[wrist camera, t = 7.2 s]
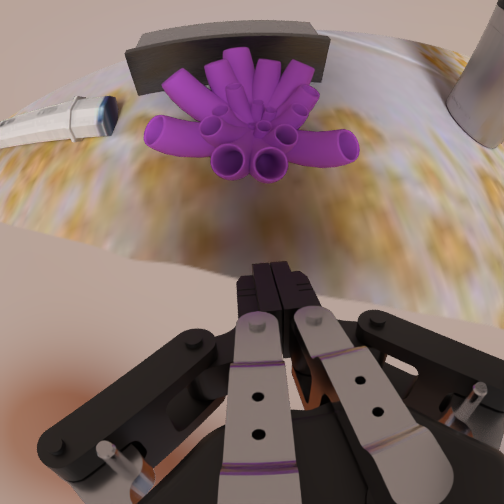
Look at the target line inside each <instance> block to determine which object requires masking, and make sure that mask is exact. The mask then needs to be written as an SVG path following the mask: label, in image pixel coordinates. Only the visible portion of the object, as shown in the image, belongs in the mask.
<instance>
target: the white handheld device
mask: <svg viewBox="0 0 504 504" xmlns="http://www.w3.org/2000/svg"><path fill="white" fill-rule="evenodd" d="M117 120H118V106H117V101H116V97H112V96H105V97H95V98H87V99H86V97H80V96H76V97H74V99H73V101H69V102H65V103H60V104H56V105H52V106H48V107H45V108H41V109H37V110H34V111H30V112H27V113H24V114H21V115H18V116H15V117H12V118H9V119H6V120H3V121H0V148H6V147H11V146H17V145H23V144H30V143H37V142H45V141H54V140H63V139H71V141H72V142H78V141H83V138H85V137H98V136H111V135H112V133H113V130H114V128H115V125H116V123H117Z"/></svg>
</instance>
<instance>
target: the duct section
mask: <svg viewBox="0 0 504 504" xmlns="http://www.w3.org/2000/svg"><path fill="white" fill-rule="evenodd" d="M329 44H330V38H329V37H328V36H322V35H318V34H317V32H316V31H315V29H314V28H313V27H312V25H311V24H310V23H309V22H298V21H276V20H255V21H254V20H251V21H250V20H249V21H227V22H214V23H205V24H196V25H188V26H181V27H175V28H169V29H164V30H159V31H154V32H149V33H145V34H143V35H142V36H141V38H140V40H139V42H138V44H137V46H136V48H134V49H129V50H126V52H125V57H126V60H127V63H128V66H129V69H130V72H131V75H132V78H133V81H134V84H135V87H136V90H137V93H138V96H139V95H144V94H149V93H154V92H160V91H164V89H163V88H162V84H163V83H164V82H165V81H166V80H167V79H168V78H169V77H170V76H172V75H173V74H174V73H176V72H177V71H178V70H180V69H181V68H184V69H185V70H187V71H188V72H189V73H190V74H191V75H192V76H194V77H195V78H196V79H197V80H198V81H199V82H201V83H202V84H203V85H209V83H208V80H207V77H206V74H205V69H204V66H205V65H207V64H209V63H212V62H215V61H218V60H222V59H223V51H224V50H226V49H230V48H236V47H248V48H249V50H250V53H251V57H252V60H253V64H254V69H255V70H256V65H257V62H258V60H259V59H269V60H275V61H280V62H281V76H282V74H283V72H284V71H285V69H286V67H287V66H288V64H289V63H290V61H291V60H292V59H294V60H296V61H299V62H301V63H303V64H306V65H308V66H310V67H312V68H314V70H315V71H314V74H313V77H312V79H311V82H321V80H322V76H323V71H324V67H325V63H326V58H327V53H328V49H329ZM281 76H280V77H281Z"/></svg>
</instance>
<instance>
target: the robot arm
mask: <svg viewBox="0 0 504 504" xmlns="http://www.w3.org/2000/svg"><path fill="white" fill-rule="evenodd" d="M446 103H447V107H448V109H449V111H450V113H451V115H452V116H453V117H454V119H455V120H456V121H457V123H458V124H459V125H460V126H461V127H462V128H463V129H464V130H465V131H466V132H467V133H468V134H469V135H470V136H471V137H472V138H473V139H475V140H476V141H477V142H479V143H480V144H482V145H484V146H486V147H488V148H492V149H493V148H496V147H497V146H498V145H499V144H500V143H501V144H502V143H503V142H504V0H498V2H497V5H496V7H495V10H494V12H493V14H492V16H491V19H490V21H489V23H488V25H487V27H486V29H485V31H484V33H483V35H482V37H481V39H480V41H479V43H478V45H477V47H476V49H475V51H474V53H473V54H472V56H471V58H470V60H469V62H468V64H467V66H466V67H465V69H464V71H463V73H462V74H461V76H460V78H459V80H458V81H457V83H456V85H455V86H454V88H453V90H452V92H451V93H450V95H449V97H448V98H447V101H446ZM236 285H237V302H238V321H237V323H236V326H235V328H234V329H232V330H231V331H229V332H227V333H225V334H223V335H219V336H216V337H214V335H213V334H212V333H211V332H209V331H207V330H204V329H190V330H186V331H184V332H182V333H180V334H179V335H177V336H176V337H175V338H173V339H172V340H171V341H169V342H168V343H167V344H165V345H164V346H163V347H162V348H160V349H159V350H157V351H156V352H155V353H153V354H152V355H151V356H149V357H148V358H147V359H145V360H144V361H143V362H141V363H140V364H139V365H137V366H136V367H134V368H133V369H132V370H131V371H129V372H128V373H126V374H125V375H124V376H122V377H121V378H119V379H118V380H117V381H116V382H114V383H113V384H111V385H110V386H109V387H107V388H106V389H104V390H103V391H102V392H100V393H99V394H97V395H96V396H95V397H93V398H92V399H90V400H89V401H88V402H86V403H85V404H84V405H82V406H81V407H79V408H78V409H76V410H75V411H74V412H72V413H71V414H69V415H68V416H66V417H65V418H64V419H62V420H61V421H59V422H58V423H57V424H55V425H54V426H52V427H51V428H49V429H48V430H46V431H45V432H44V433H43V434H42V435H41V437H40V438H39V441H38V444H37V453H38V456H39V458H40V460H41V461H42V462H43V463H44V464H45V465H46V466H47V467H49V468H50V469H51V470H52V471H54V472H55V473H56V474H57V475H58V476H59V477H60V478H61V479H63V480H64V481H65V482H67V483H68V484H69V485H71V487H72V488H73V489H74V491H75V492H76V493H77V494H78V496H79V497H80V498H81V500H82V501H83V502H84V503H85V504H504V454H503V453H502V452H501V451H499V448H500V445H501V441H502V438H503V434H504V360H502V359H499V358H497V357H494V356H491V355H489V354H487V353H484V352H482V351H479V350H476V349H474V348H472V347H469V346H467V345H465V344H462V343H460V342H457V341H455V340H452V339H450V338H447V337H445V336H442V335H440V334H438V333H435V332H433V331H430V330H428V329H425V328H423V327H421V326H418V325H416V324H413V323H411V322H408V321H406V320H403V319H401V318H398V317H396V316H394V315H391V314H389V313H387V312H384V311H380V310H368V311H365V312H364V313H362V314H361V315H360V316H359V318H358V322H355V321H342V320H337V319H336V318H335V316H334V315H333V313H332V312H331V311H330V310H328V309H326V308H324V307H322V306H321V304H320V302H319V300H318V298H317V296H316V294H315V292H314V290H313V288H312V286H311V284H310V281H309V279H308V277H307V276H306V275H304V274H303V273H302V272H300V271H294V272H291V270H290V268H289V266H288V263H287V261H282V262H270V264H269V263H259V264H252V275H249V276H241V277H240V278H239V280H238V281H237V284H236ZM282 354H283V358H291V361H292V376H293V379H294V381H295V384H296V387H297V390H298V393H299V396H300V398H301V401H302V404H303V407H304V410H290V402H289V394H288V385H287V376H286V368H285V362H284V361H283V360H282ZM387 355H390V356H392V357H394V358H396V359H399V360H400V361H403V362H405V363H407V364H409V365H412V366H413V367H415V368H416V369H417V371H418V374H419V375H417V376H415V375H411V374H409V373H407V372H405V371H403V370H400V369H398V368H396V367H394V366H392V365H390V364H388V363H386V362H385V360H386V357H387ZM226 395H228V398H227V411H226V424H225V425H223V426H221V427H219V428H217V429H215V430H214V431H212V432H211V433H209V434H208V435H206V436H205V437H204V438H203V439H202V440H201V441H200V442H199V443H198V444H197V445H196V446H195V447H194V448H193V449H192V450H191V451H190V452H189V453H188V454H187V455H186V456H185V457H184V459H183V460H181V461H180V463H179V464H178V465H177V466H176V467H175V468H174V469H173V470H172V471H171V472H170V473H169V474H168V475H166V476H165V477H164V478H163V479H162V480H161V481H160V482H159V483H158V484H157V485H156V486H155V487H154V488H153V489H152V490H151V491H150V492H149V490H150V489H151V488H152V487H153V485H154V482H155V472H154V470H153V468H154V467H155V466H157V465H158V464H159V463H160V462H161V461H162V460H163V459H164V458H166V456H168V455H169V454H170V453H171V452H172V451H173V450H174V449H175V448H176V447H178V446H179V445H180V444H181V443H182V442H183V441H184V440H185V439H186V438H187V437H188V436H189V435H190V434H191V433H192V432H193V431H194V430H195V429H196V428H197V427H199V426H200V425H201V424H202V422H204V420H206V419H207V418H208V416H210V415H211V414H212V413H213V412H214V411H215V410H216V409H217V408H218V407H219V405H220V404H221V403H222V402H223V401H224V399H225V396H226ZM148 492H149V493H148ZM147 493H148V494H147Z"/></svg>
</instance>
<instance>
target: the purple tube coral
mask: <svg viewBox="0 0 504 504" xmlns="http://www.w3.org/2000/svg"><path fill="white" fill-rule="evenodd" d="M204 69H205V74H206V77H207V80H208V83H209V86H210V88H211V90H209V89H208V88H206V87H205V86H204V85H203V84H202V83H201V82H199V81H198V80H197V79H196V78H195V77H194V76H192V75H191V74H190V73H189V72H188V71H187V70H185V69H184V68H181V69H180V70H178V71H177V72H176V73H174V74H173V75H172V76H170V77H169V78H168V79H167V80H166V81H165V82H164V83H163V84H162V88H163V89H164V91H165V92H166V93H167V95H168V96H169V97H170V98H171V99H172V100H173V101H174V102H175V103H176V104H177V105H178V106H179V107H180V108H181V109H182V110H183V111H185V112H186V113H187V114H189V115H190V116H191V117H193V118H194V119H195V120H197V121H199V122H191V121H186V120H181V119H176V118H173V117H169V116H165V115H157V116H155V117H153V118H152V119H151V120H150V122H149V123H148V124H147V126H146V129H145V132H144V142H145V144H146V145H147V146H149V147H151V148H152V149H154V150H157V151H159V152H162V153H164V154H169V155H173V156H178V157H210V156H211V161H210V162H211V167H212V169H213V171H214V172H215V173H216V174H217V175H218V176H219V177H221V178H223V179H226V180H238V179H241V178H243V177H245V176H247V175H248V174H249V173H250V174H251V176H253V177H254V178H255V179H256V180H257V181H260V182H262V183H273V182H277V181H279V180H280V179H282V178H283V176H284V175H285V174H286V172H287V169H288V162H291V163H295V164H299V165H303V166H310V167H318V168H329V167H338V166H342V165H346V164H349V163H351V162H354V161H355V160H356V159H357V158H358V156H359V151H360V149H359V143H358V140H357V138H356V137H355V135H354V134H353V133H352V132H351V131H349V130H346V129H340V130H332V131H320V132H314V131H303V130H298V129H299V128H300V127H301V126H302V125H303V124H304V122H305V121H306V119H307V117H308V115H309V112H310V111H311V110H312V108H313V107H314V106H315V104H316V102H317V101H318V99H319V97H320V94H319V92H318V91H317V90H316V89H315V88H313V87H311V86H309V84H310V82H311V79H312V77H313V74H314V71H315V70H314V68H312V67H310V66H308V65H306V64H303V63H301V62H299V61H296V60H294V59H292V60H291V61H290V63H289V64H288V66H287V67H286V69H285V71H284V72H283V74H282V76H281V62H280V61H275V60H269V59H259V60H258V62H257V65H256V70H255V69H254V64H253V60H252V57H251V53H250V50H249V48H248V47H236V48H230V49H226V50H224V51H223V59H222V60H218V61H215V62H212V63H209V64H207V65H205V66H204ZM280 76H281V77H280Z"/></svg>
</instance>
